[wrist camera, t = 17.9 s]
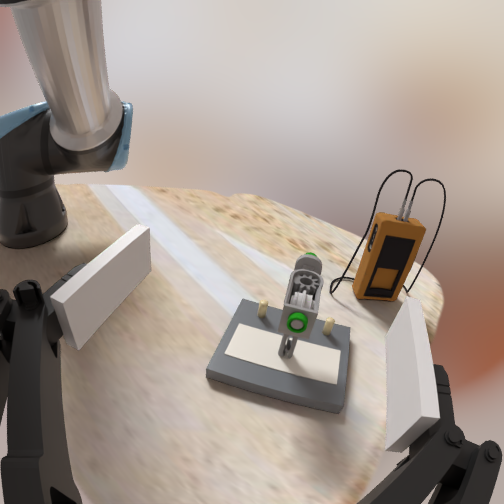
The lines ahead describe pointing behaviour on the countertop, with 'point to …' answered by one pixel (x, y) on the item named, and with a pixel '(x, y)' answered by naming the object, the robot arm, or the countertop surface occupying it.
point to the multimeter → (389, 252)
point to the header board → (283, 359)
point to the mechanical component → (300, 302)
